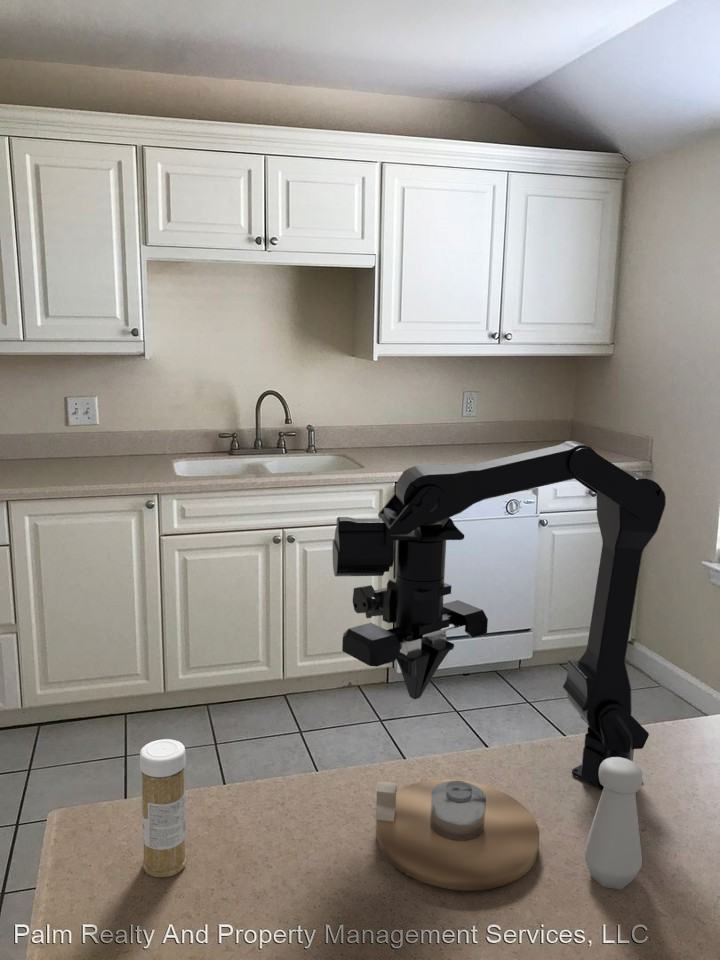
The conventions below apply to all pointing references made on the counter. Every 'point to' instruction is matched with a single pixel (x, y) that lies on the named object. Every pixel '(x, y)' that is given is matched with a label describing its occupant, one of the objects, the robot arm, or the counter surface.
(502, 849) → the disc
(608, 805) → the salt shaker
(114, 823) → the counter surface
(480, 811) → the cover
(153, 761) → the spice bottle
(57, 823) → the counter surface
